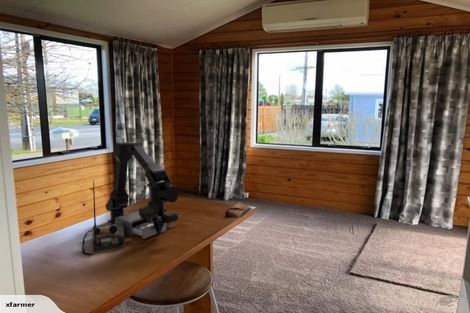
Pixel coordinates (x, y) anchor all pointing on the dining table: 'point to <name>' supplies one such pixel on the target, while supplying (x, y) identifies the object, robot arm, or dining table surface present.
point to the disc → (144, 226)
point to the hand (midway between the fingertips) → (158, 233)
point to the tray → (147, 230)
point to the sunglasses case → (237, 210)
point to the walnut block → (171, 224)
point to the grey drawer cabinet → (130, 222)
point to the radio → (105, 235)
